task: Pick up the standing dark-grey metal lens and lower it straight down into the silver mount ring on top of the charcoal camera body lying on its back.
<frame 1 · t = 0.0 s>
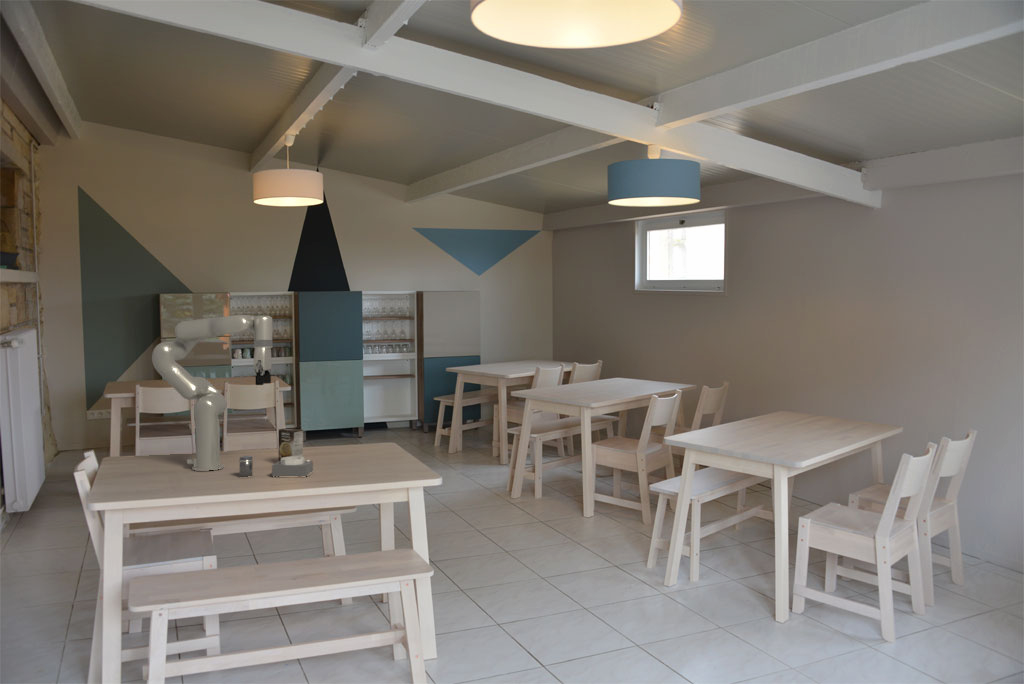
hand: (263, 384, 326), 37 cm above the table, tool pointing down, fingers open, 9 cm apart
camera body: (292, 475, 315), on the table
lens: (246, 476, 311), on the table
coffee box: (290, 466, 336), on the table
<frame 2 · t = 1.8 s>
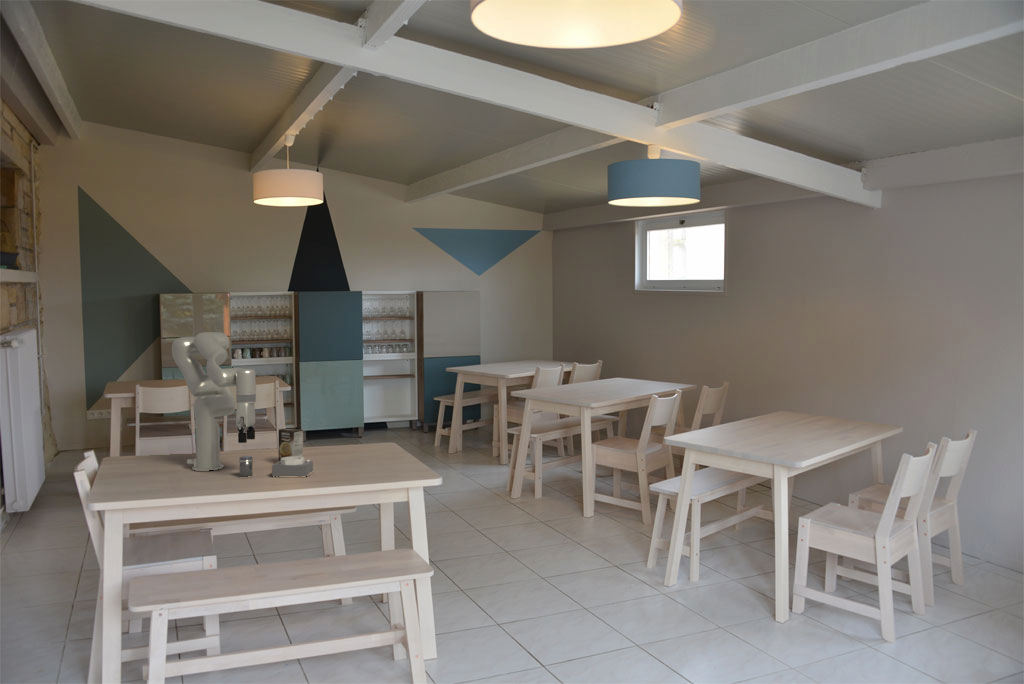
hand: (246, 440, 310), 15 cm above the table, tool pointing down, fingers open, 9 cm apart
nothing on the table moved.
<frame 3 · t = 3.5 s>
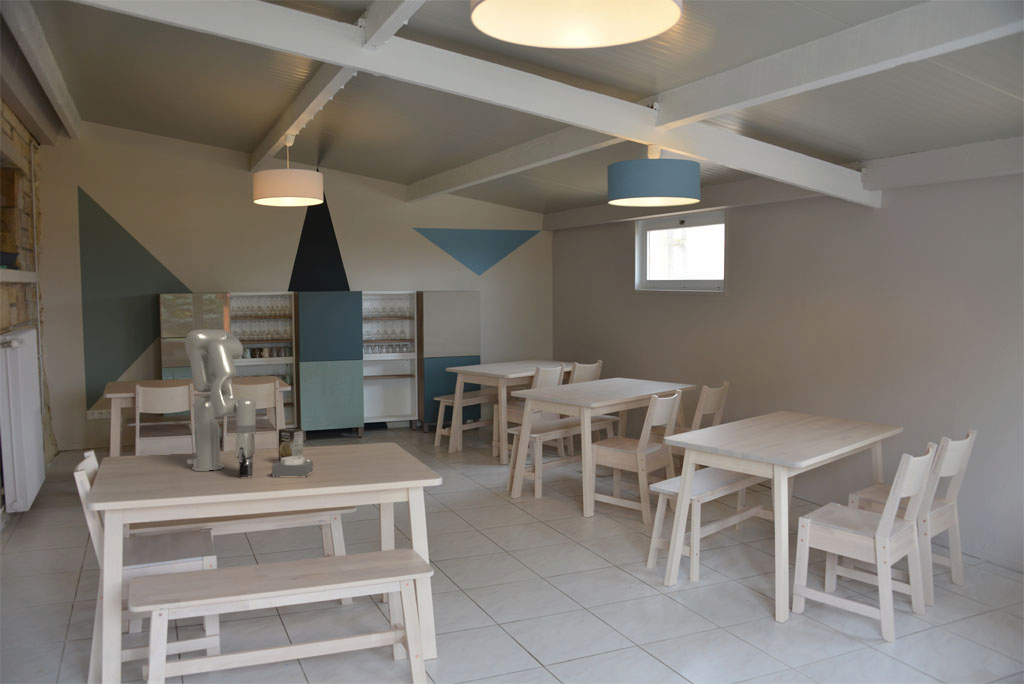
hand: (246, 473, 311), 1 cm above the table, tool pointing down, fingers closed on lens, 5 cm apart
lens: (246, 476, 311), on the table, touching gripper
everything else where it was.
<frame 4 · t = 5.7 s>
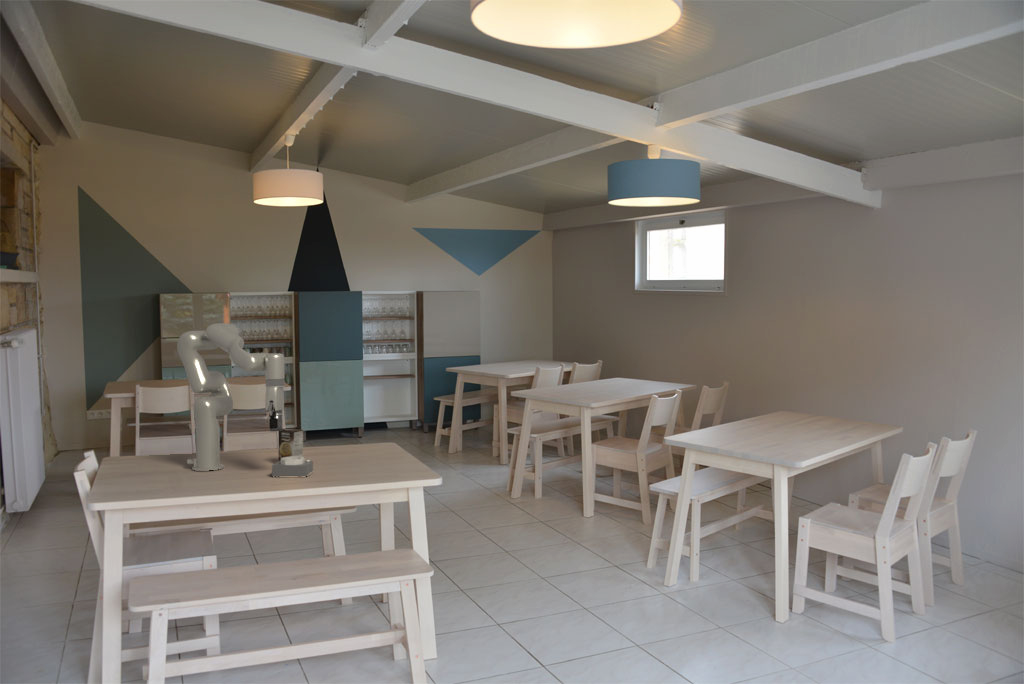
hand: (276, 427, 312), 20 cm above the table, tool pointing down, fingers closed on lens, 5 cm apart
lens: (276, 430, 312), point 19 cm above the table, touching gripper
everything else where it was.
when the fingers open (8 cm above the table, at t = 8.1 s): lens drops 1 cm, resting on camera body.
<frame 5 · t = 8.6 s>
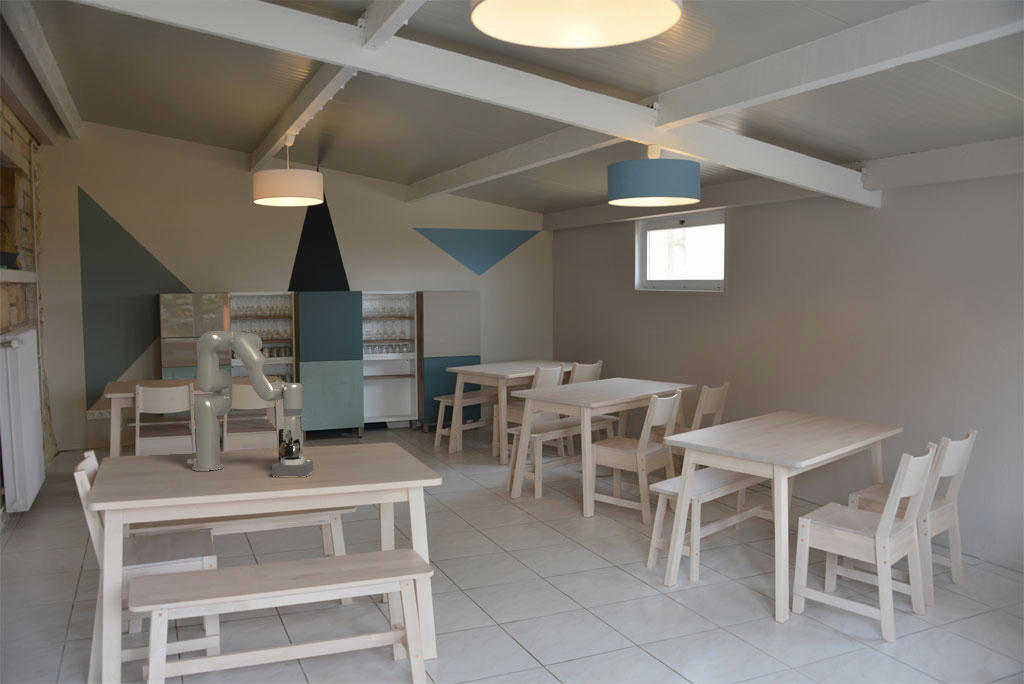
hand: (292, 453, 314), 9 cm above the table, tool pointing down, fingers open, 9 cm apart
lens: (292, 462, 314), point 5 cm above the table, touching camera body
everything else where it was.
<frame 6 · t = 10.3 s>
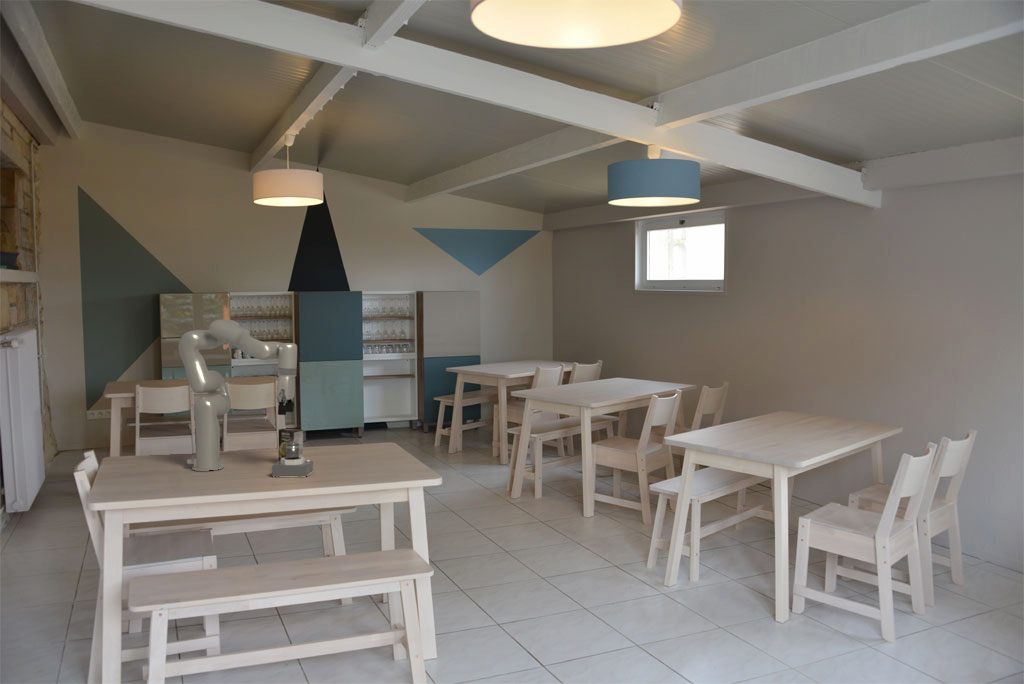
hand: (285, 413, 317), 25 cm above the table, tool pointing down, fingers open, 9 cm apart
nothing on the table moved.
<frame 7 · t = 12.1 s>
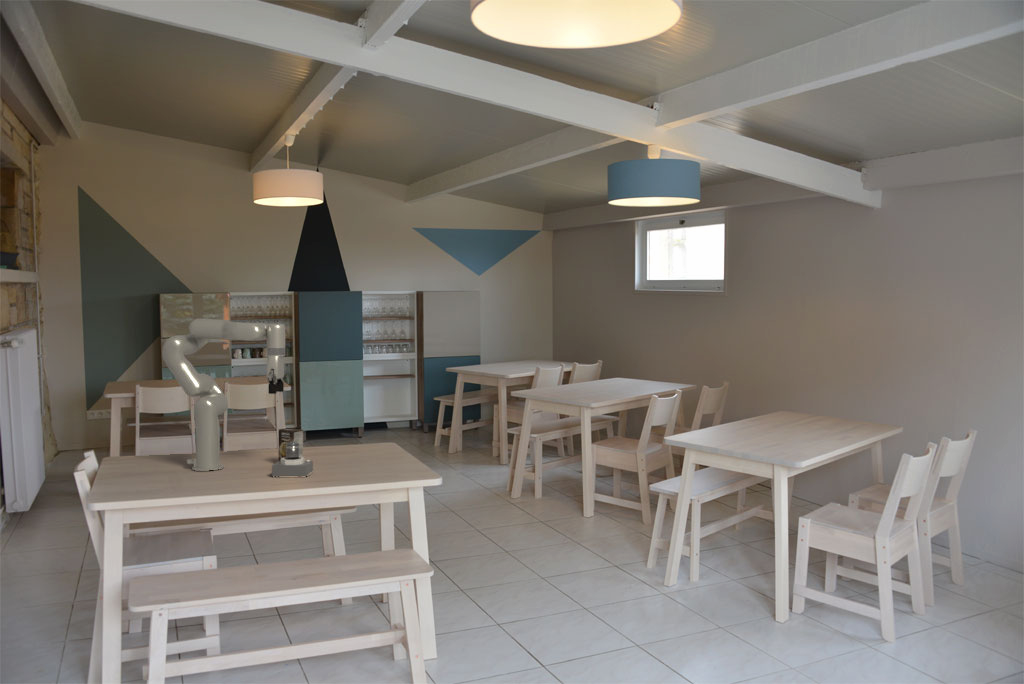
hand: (276, 392, 324), 33 cm above the table, tool pointing down, fingers open, 9 cm apart
nothing on the table moved.
at the end: lens 0.1 cm off-centre on the camera body, point 5.0 cm above the camera body's base; lens tilted 0°; the gripper is holding nothing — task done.
